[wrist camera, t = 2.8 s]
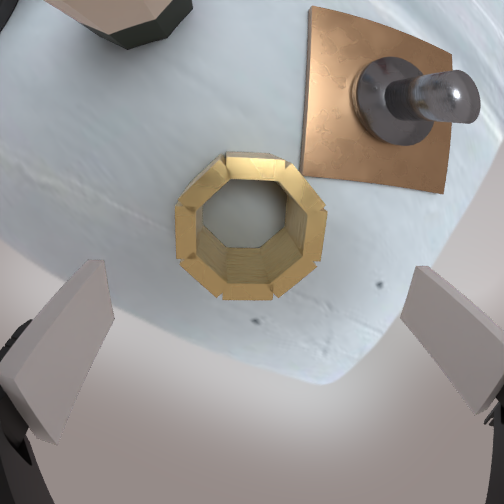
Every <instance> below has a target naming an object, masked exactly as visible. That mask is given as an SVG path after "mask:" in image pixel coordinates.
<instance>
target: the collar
mask: <svg viewBox="0 0 504 504" xmlns="http://www.w3.org/2000/svg"><path fill="white" fill-rule="evenodd" d="M230 179H248V180H269V181H276V182H277V183H278V184H279V185H280V187H281V188H282V189H283V190H284V191H285V192H286V193H287V202H286V213H285V223H284V227H283V228H282V229H281V230H280V231H279V232H278V233H276V234H275V235H274V236H273V237H272V238H271V239H269V240H268V241H267V242H266V243H265V244H264V245H262V246H261V247H260V248H227V247H225V246H224V245H223V244H222V243H221V242H220V241H219V240H218V239H217V238H216V237H215V236H214V235H213V234H212V233H211V232H210V231H209V230H208V229H207V228H206V227H205V226H204V225H203V204H204V203H205V202H206V201H207V200H208V199H209V198H210V197H212V196H213V195H214V194H215V193H216V192H217V191H218V190H219V189H220V188H221V187H222V186H223V185H225V184H226V183H227V182H228V181H229V180H230ZM324 206H326V205H325V203H324V202H323V201H322V200H321V198H320V197H319V196H318V195H317V193H316V192H315V191H314V190H313V188H312V187H311V186H310V185H309V183H308V182H307V181H306V180H305V179H304V177H303V176H302V175H301V174H300V173H299V171H298V170H297V169H296V168H295V167H294V165H293V164H292V163H290V162H287V161H285V160H284V159H281V158H279V157H277V156H274V155H272V154H270V153H253V152H230V151H226V158H225V157H224V156H223V155H222V154H220V155H219V156H218V157H217V158H215V159H214V160H213V161H212V162H211V163H210V164H209V165H208V166H207V167H206V168H205V169H204V170H203V171H201V172H200V173H199V174H198V175H197V176H196V177H195V178H194V179H193V180H192V181H191V182H190V183H189V185H188V186H187V187H186V189H185V190H184V191H183V193H182V194H181V196H180V197H179V198H178V202H177V204H176V205H175V234H176V259H181V261H180V264H179V265H180V266H181V267H182V268H184V269H185V270H186V271H187V272H188V273H189V274H190V275H191V276H192V277H194V278H195V279H196V280H197V281H198V282H199V283H200V284H201V285H203V286H204V287H205V288H206V289H207V290H208V291H209V292H210V293H212V294H213V295H214V296H215V297H216V298H217V297H218V296H219V295H220V294H222V293H223V300H272V299H273V293H274V294H275V295H276V296H277V297H278V298H279V297H280V296H282V295H283V294H284V293H285V292H287V291H288V290H289V289H290V288H292V287H293V286H294V285H295V284H297V283H298V282H299V281H300V280H302V279H303V278H304V277H305V276H307V275H308V274H309V273H310V272H311V271H313V270H314V269H315V268H316V267H317V266H316V264H315V263H314V261H320V260H321V254H322V248H323V241H324V234H325V227H326V220H327V211H326V210H325V209H324V208H323V207H324Z"/></svg>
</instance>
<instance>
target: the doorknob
mask: <svg viewBox="0 0 504 504" xmlns="http://www.w3.org/2000/svg"><path fill="white" fill-rule="evenodd" d="M479 112H480V96H479V92H478V89H477V87H476V85H475V83H474V81H473V80H472V79H471V77H470V76H469V75H468V74H466V73H465V72H463V71H460V70H452V54H450V53H448V52H446V51H444V50H442V49H440V48H438V47H436V46H434V45H432V44H430V43H427V42H425V41H423V40H421V39H418V38H416V37H414V36H411V35H409V34H406V33H404V32H401V31H399V30H396V29H394V28H391V27H388V26H385V25H382V24H379V23H376V22H373V21H370V20H367V19H364V18H360V17H357V16H354V15H350V14H346V13H342V12H338V11H334V10H330V9H326V8H321V7H316V6H311V8H310V9H309V15H308V47H307V69H306V88H305V105H304V120H303V134H302V147H301V159H300V170H299V173H300V174H301V175H302V176H313V177H324V178H334V179H343V180H352V181H360V182H368V183H376V184H383V185H390V186H397V187H403V188H410V189H416V190H422V191H428V192H433V193H439V194H444V188H445V181H446V174H447V167H448V159H449V150H450V140H451V126H452V122H453V123H466V124H470V123H473V122H474V121H475V120H476V119H477V117H478V115H479Z"/></svg>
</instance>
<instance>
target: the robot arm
mask: <svg viewBox="0 0 504 504" xmlns="http://www.w3.org/2000/svg"><path fill="white" fill-rule="evenodd" d="M17 1H18V0H0V31H1V29H2V28H3V26H4V24H5V23H6V21H7V19H8V18H9V16H10V14H11V12H12V11H13V9H14V7H15V5H16V3H17ZM400 318H401V320H402V321H403V322H404V323H405V324H406V326H407V327H408V328H409V329H410V331H411V332H412V333H413V334H414V335H415V336H416V338H417V339H418V340H419V342H420V343H421V344H422V345H423V347H424V348H425V349H426V350H427V352H428V353H429V354H430V356H431V357H432V358H433V359H434V361H435V362H436V363H437V365H438V366H439V367H440V368H441V370H442V371H443V372H444V374H445V375H446V376H447V378H448V379H449V380H450V382H451V383H452V384H453V386H454V387H455V389H456V390H457V391H458V393H459V394H460V395H461V397H462V398H463V400H464V401H465V403H466V404H467V405H468V407H469V408H470V410H471V411H472V412H473V414H474V415H477V414H479V413H481V412H483V411H484V410H486V409H487V408H488V407H489V406H490V404H491V403H492V402H493V400H494V399H495V397H496V398H497V400H498V401H499V402H498V403H497V405H496V406H495V407H494V409H493V410H492V411H491V413H490V414H489V415H488V416H487V418H486V419H485V421H484V424H486V423H487V422H488V421H489V420H490V419H491V418H493V420H492V421H491V422H490V423H489V425H490V426H494V438H493V454H492V464H491V473H490V481H489V487H488V493H487V498H486V503H485V504H504V330H503V329H502V328H501V327H500V326H499V325H497V324H496V323H495V322H494V321H493V320H492V319H491V318H490V317H489V316H487V315H486V314H485V313H484V312H483V311H482V310H481V309H479V308H478V307H477V306H476V305H475V304H474V303H473V302H472V301H470V300H469V299H468V298H467V297H466V296H465V295H463V294H462V293H461V292H460V291H459V290H457V289H456V288H455V287H454V286H452V285H451V284H450V283H449V282H447V281H446V280H445V279H444V278H442V277H441V276H440V275H439V274H437V273H436V272H435V271H434V270H432V269H431V268H430V267H428V266H416V267H415V271H414V274H413V278H412V281H411V285H410V288H409V291H408V295H407V298H406V301H405V304H404V307H403V310H402V313H401V316H400ZM114 319H115V318H114V313H113V308H112V303H111V298H110V293H109V287H108V281H107V275H106V269H105V262H104V260H87V261H86V262H85V263H84V264H83V265H82V266H81V267H80V268H79V269H78V270H77V271H76V272H75V273H74V274H73V275H72V276H71V278H70V279H69V280H68V281H67V282H66V283H65V284H64V285H63V286H62V287H61V288H60V289H59V291H58V292H57V293H56V294H55V295H54V296H53V297H52V298H51V300H50V301H49V302H48V303H47V304H46V305H45V307H44V308H43V309H42V310H41V311H40V312H39V314H38V315H37V316H36V317H35V318H34V319H33V320H32V319H30V320H29V321H27V322H26V323H24V324H23V325H21V326H20V327H19V328H18V329H17V330H16V331H15V332H14V334H13V335H12V336H11V339H9V340H8V341H7V343H6V344H5V347H2V349H1V350H0V504H54V502H53V499H52V497H51V495H50V493H49V491H48V489H47V486H46V484H45V482H44V479H43V477H42V475H41V472H40V470H39V467H38V464H37V462H36V459H35V456H34V453H33V450H32V447H31V445H30V442H29V440H28V438H27V436H26V435H25V434H26V432H27V430H28V428H30V430H31V431H32V432H33V433H34V435H35V436H36V437H37V438H38V439H40V440H43V441H46V442H48V443H52V444H55V445H58V443H59V440H60V438H61V435H62V433H63V430H64V428H65V425H66V423H67V420H68V418H69V415H70V413H71V410H72V408H73V406H74V403H75V401H76V399H77V396H78V394H79V392H80V389H81V387H82V385H83V383H84V381H85V378H86V376H87V374H88V372H89V370H90V368H91V365H92V363H93V361H94V359H95V357H96V355H97V353H98V351H99V349H100V347H101V345H102V343H103V341H104V338H105V337H106V335H107V333H108V331H109V329H110V327H111V325H112V323H113V321H114Z"/></svg>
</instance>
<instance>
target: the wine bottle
mask: <svg viewBox="0 0 504 504" xmlns="http://www.w3.org/2000/svg"><path fill="white" fill-rule="evenodd" d="M44 1H45V2H47V3H49V4H51V5H52V6H54V7H55V8H57V9H59V10H60V11H62V12H63V13H65V14H67V15H68V16H70V17H71V18H73V19H74V20H76V21H78V22H79V23H81V24H82V25H84V26H85V27H87V28H88V29H90V30H91V31H92V32H94V33H95V34H97V35H98V36H100V37H102V38H104V39H106V40H109V41H111V42H113V43H115V44H117V45H119V46H121V47H123V48H125V49H127V50H128V49H131V48H134V47H137V46H140V45H144V44H147V43H150V42H154V41H158V40H161V39H165V38H168V36H169V35H170V34H171V33H172V32H173V30H174V29H175V28H176V27H177V26H178V25H179V23H180V22H181V21H182V20H183V19H184V18H185V17H186V16H187V15H188V14H189V12H190V11H191V10H192V9H193V6H192V0H44Z"/></svg>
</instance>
